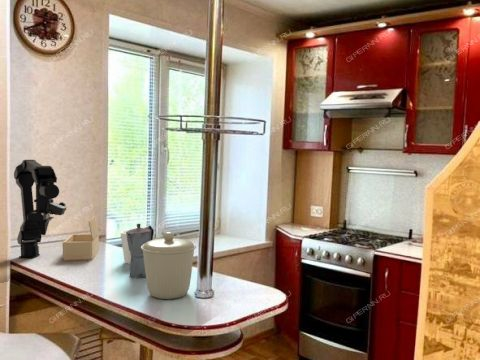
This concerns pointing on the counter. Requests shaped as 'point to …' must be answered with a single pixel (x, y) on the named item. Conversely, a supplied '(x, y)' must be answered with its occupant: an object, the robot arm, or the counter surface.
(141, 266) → the moka pot
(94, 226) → the carton flap
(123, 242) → the foam cup
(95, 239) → the carton
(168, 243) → the canister
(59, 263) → the counter surface
